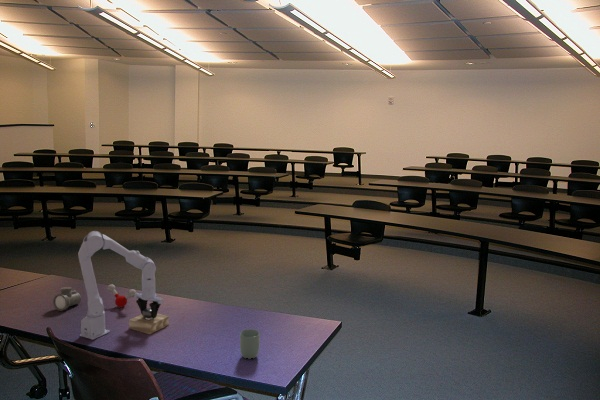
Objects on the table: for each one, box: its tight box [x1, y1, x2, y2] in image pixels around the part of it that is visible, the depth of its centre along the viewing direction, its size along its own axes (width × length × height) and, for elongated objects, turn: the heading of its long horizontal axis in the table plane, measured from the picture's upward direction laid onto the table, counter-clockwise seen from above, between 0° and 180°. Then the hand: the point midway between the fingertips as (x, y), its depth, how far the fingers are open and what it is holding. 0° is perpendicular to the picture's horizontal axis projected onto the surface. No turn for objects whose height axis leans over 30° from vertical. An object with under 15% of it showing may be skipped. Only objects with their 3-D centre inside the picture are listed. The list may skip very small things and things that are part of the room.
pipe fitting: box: [52, 286, 82, 312], centre depth 256 cm, size 12×8×10 cm, turn 159°
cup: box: [239, 328, 261, 360], centre depth 210 cm, size 8×8×10 cm
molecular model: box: [107, 284, 137, 308], centre depth 258 cm, size 18×6×10 cm, turn 62°
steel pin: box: [142, 307, 152, 321], centre depth 236 cm, size 5×5×6 cm
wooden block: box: [128, 312, 170, 335], centre depth 236 cm, size 12×12×4 cm
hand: (149, 316), depth 236 cm, fingers closed on steel pin, 5 cm apart
